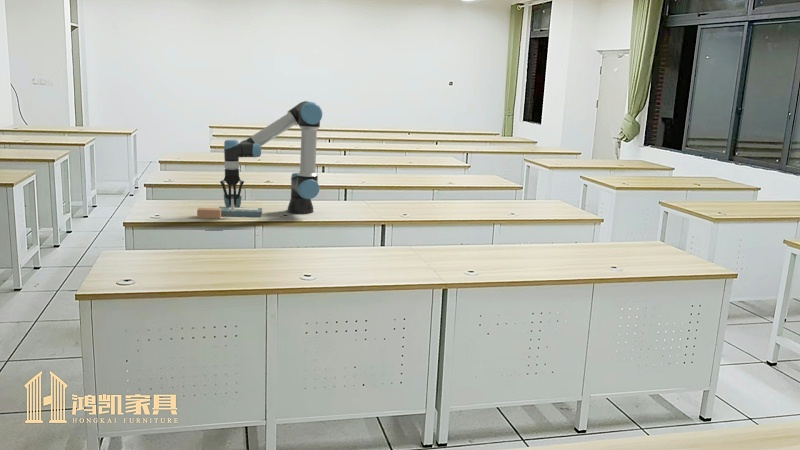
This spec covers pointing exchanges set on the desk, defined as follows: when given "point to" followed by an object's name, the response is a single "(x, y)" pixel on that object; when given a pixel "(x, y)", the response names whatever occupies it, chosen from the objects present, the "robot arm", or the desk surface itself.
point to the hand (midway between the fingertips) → (232, 210)
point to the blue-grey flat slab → (241, 212)
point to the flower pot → (238, 201)
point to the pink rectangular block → (208, 212)
